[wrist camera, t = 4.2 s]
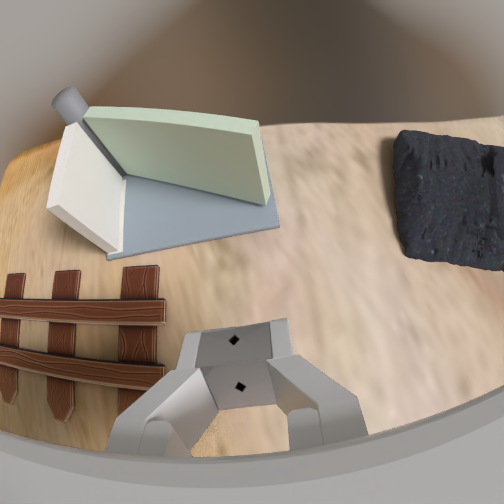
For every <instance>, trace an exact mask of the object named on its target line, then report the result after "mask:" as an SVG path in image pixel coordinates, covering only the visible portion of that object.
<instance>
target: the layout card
mask: <svg viewBox="0 0 504 504" xmlns="http://www.w3.org/2000/svg"><path fill="white" fill-rule="evenodd" d="M261 140H262V139H261ZM262 146H263V143H262ZM263 151H264V148H263ZM264 157H265V152H264ZM265 163H266V169H267V175H268V181H269V187H270V193H271V194H270V197H269V199H268V202H267V205H266V206H265V205H261V204H257V203H253V202H249V201H245V200H241V199H237V198H233V197H229V196H225V195H221V194H216V193H212V192H208V191H204V190H199V189H195V188H190V187H186V186H182V185H177V184H173V183H168V182H163V181H159V180H154V179H149V178H145V177H140V176H135V175H130V174H126V175H125V176H124V177H123V178H122V188H121V202H120V219H119V247H118V251H114V252H109V253H107V260H108V261H111V260H115V259H120V258H125V257H130V256H135V255H140V254H145V253H150V252H155V251H160V250H165V249H170V248H175V247H180V246H185V245H190V244H195V243H200V242H205V241H211V240H216V239H221V238H226V237H232V236H237V235H242V234H248V233H253V232H258V231H264V230H269V229H275V228H280V225H279V220H278V215H277V210H276V205H275V200H274V195H273V190H272V185H271V180H270V176H269V171H268V166H267V162H266V157H265Z"/></svg>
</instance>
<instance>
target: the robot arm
mask: <svg viewBox="0 0 504 504" xmlns="http://www.w3.org/2000/svg"><path fill="white" fill-rule="evenodd" d="M272 404H277V405H278V407H279V408H280V409H281V410H282V411H283V412H284V413H285V414H286V416H287V419H288V433H289V446H290V450H289V451H281V452H273V453H264V454H253V455H241V456H224V457H193V456H192V455H191V453H190V450H191V449H192V448H193V446H194V445H195V444H196V442H197V441H198V440H199V438H200V437H201V436H202V434H203V433H204V432H205V430H206V429H207V428H208V426H209V425H210V423H211V422H212V421H213V419H214V418H215V417H216V415H217V414H218V412H219V411H218V410H226V409H235V408H243V407H252V406H263V405H272ZM0 504H504V385H502V386H501V387H498V388H496V389H494V390H492V391H490V392H488V393H486V394H484V395H482V396H479V397H477V398H475V399H473V400H470V401H468V402H466V403H463V404H461V405H459V406H456V407H454V408H451V409H448V410H446V411H443V412H441V413H438V414H435V415H432V416H430V417H427V418H424V419H421V420H418V421H415V422H412V423H409V424H406V425H403V426H399V427H396V428H393V429H389V430H386V431H382V432H378V433H374V434H371V435H368V431H367V428H366V425H365V421H364V418H363V414H362V411H361V408H360V404H359V401H358V398H357V396H355V395H354V394H353V393H351V392H350V391H348V390H347V389H346V388H344V387H343V386H341V385H340V384H339V383H337V382H336V381H334V380H333V379H332V378H330V377H329V376H327V375H326V374H325V373H323V372H322V371H321V370H319V369H318V368H317V367H315V366H314V365H312V364H311V363H310V362H308V361H307V360H306V359H304V358H303V357H302V356H300V355H294V353H293V346H292V340H291V334H290V328H289V322H288V319H287V318H282V319H277V320H272V321H270V322H264V323H258V324H252V325H246V326H239V327H229V328H221V329H212V330H204V331H195V332H187V333H186V334H185V336H184V340H183V343H182V347H181V351H180V355H179V358H178V362H177V366H176V370H171V371H169V372H168V373H167V374H166V375H165V376H164V377H163V378H162V379H160V380H159V381H158V382H157V383H156V384H155V385H154V386H152V387H151V388H150V389H149V390H148V391H147V392H146V393H145V394H143V395H142V396H141V397H140V398H139V399H138V400H137V401H135V402H134V403H133V404H132V405H131V406H130V407H128V408H127V409H126V410H125V411H124V412H123V413H121V414H120V415H119V416H118V417H117V418H116V420H115V423H114V425H113V428H112V431H111V434H110V437H109V440H108V443H107V446H106V448H105V451H104V452H102V451H94V450H88V449H81V448H75V447H70V446H64V445H59V444H54V443H50V442H45V441H41V440H36V439H32V438H28V437H24V436H21V435H17V434H13V433H10V432H7V431H3V430H0Z"/></svg>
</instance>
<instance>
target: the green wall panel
mask: <svg viewBox="0 0 504 504" xmlns="http://www.w3.org/2000/svg"><path fill="white" fill-rule="evenodd" d="M83 119H84V120H85V121H86V122H87V124H88V125H89V126H90V128H91V129H92V130H93V131H94V133H95V134H96V135H97V137H98V138H99V139H100V140H101V142H102V143H103V144H104V146H105V147H106V148H107V149H108V151H109V152H110V153H111V154H112V156H113V157H114V158H115V159H116V161H117V162H118V163H119V164H120V166H121V167H122V168H123V169H124V171H125V172H126V173H127V174H130V175H135V176H140V177H145V178H149V179H154V180H159V181H163V182H168V183H173V184H177V185H182V186H186V187H190V188H195V189H199V190H204V191H208V192H212V193H216V194H221V195H225V196H229V197H233V198H237V199H241V200H245V201H249V202H253V203H257V204H261V205H265V206H266V205H267V202H268V199H269V197H270V194H271V193H270V187H269V181H268V175H267V169H266V163H265V157H264V151H263V146H262V140H261V134H260V129H259V123H258V121H255V120H249V119H242V118H235V117H229V116H221V115H214V114H205V113H196V112H187V111H175V110H163V109H150V108H149V109H148V108H131V107H90V108H89V109H88V110H87V112H86V113H85V114H84V116H83Z"/></svg>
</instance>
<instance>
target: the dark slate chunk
mask: <svg viewBox="0 0 504 504" xmlns="http://www.w3.org/2000/svg"><path fill="white" fill-rule="evenodd" d="M393 169H394V177H395V182H396V188H395V204H396V209H397V217H398V219H399V221H398V232H399V234H400V240H401V242H402V243H403V245H404V246H405V247H406V249H407V251H406V256H407V257H409V258H413V259H421V260H423V261H427V262H448V263H450V264H453V265H455V264H456V265H459V266H469V267H473V268H479V269H483V270H491V271H501V270H502V271H504V147H501V146H494V145H483V144H479V143H478V142H477V141H475V140H470V139H467V138H460V137H451V136H448V135H443V136H441V135H434V134H429V133H426V132H421V131H409V130H402V131H401V132H400V133H399V134H398V136H397V138H396V140H395V142H394V166H393Z"/></svg>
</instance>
